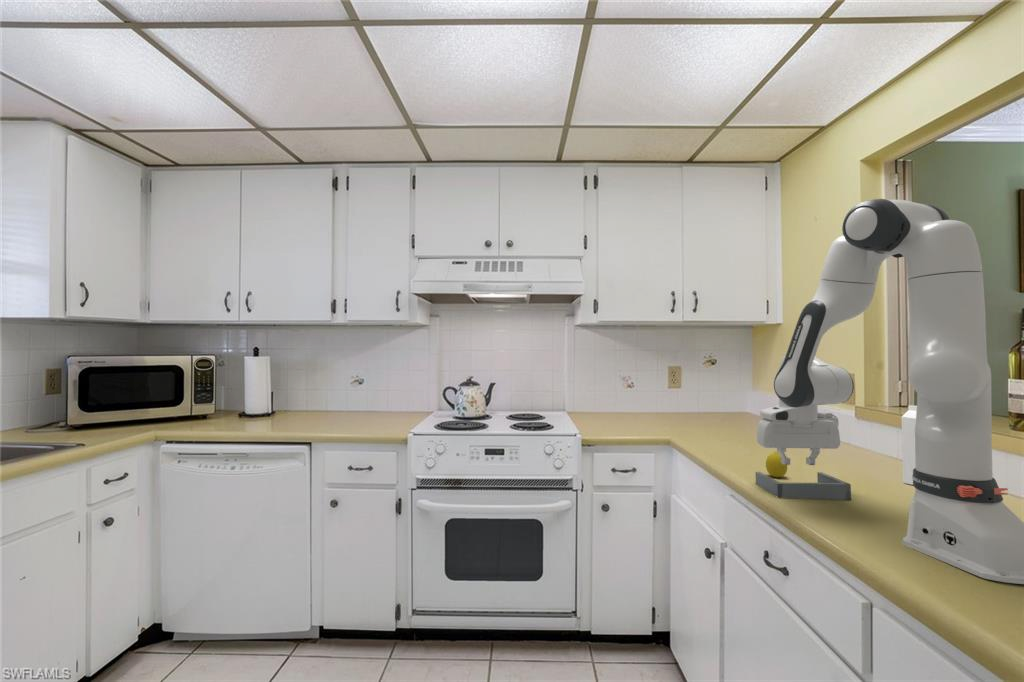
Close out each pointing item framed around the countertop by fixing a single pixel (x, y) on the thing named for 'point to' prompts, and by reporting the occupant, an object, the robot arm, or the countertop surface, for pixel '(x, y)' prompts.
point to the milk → (908, 443)
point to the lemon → (775, 465)
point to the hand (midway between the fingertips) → (798, 464)
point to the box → (807, 488)
